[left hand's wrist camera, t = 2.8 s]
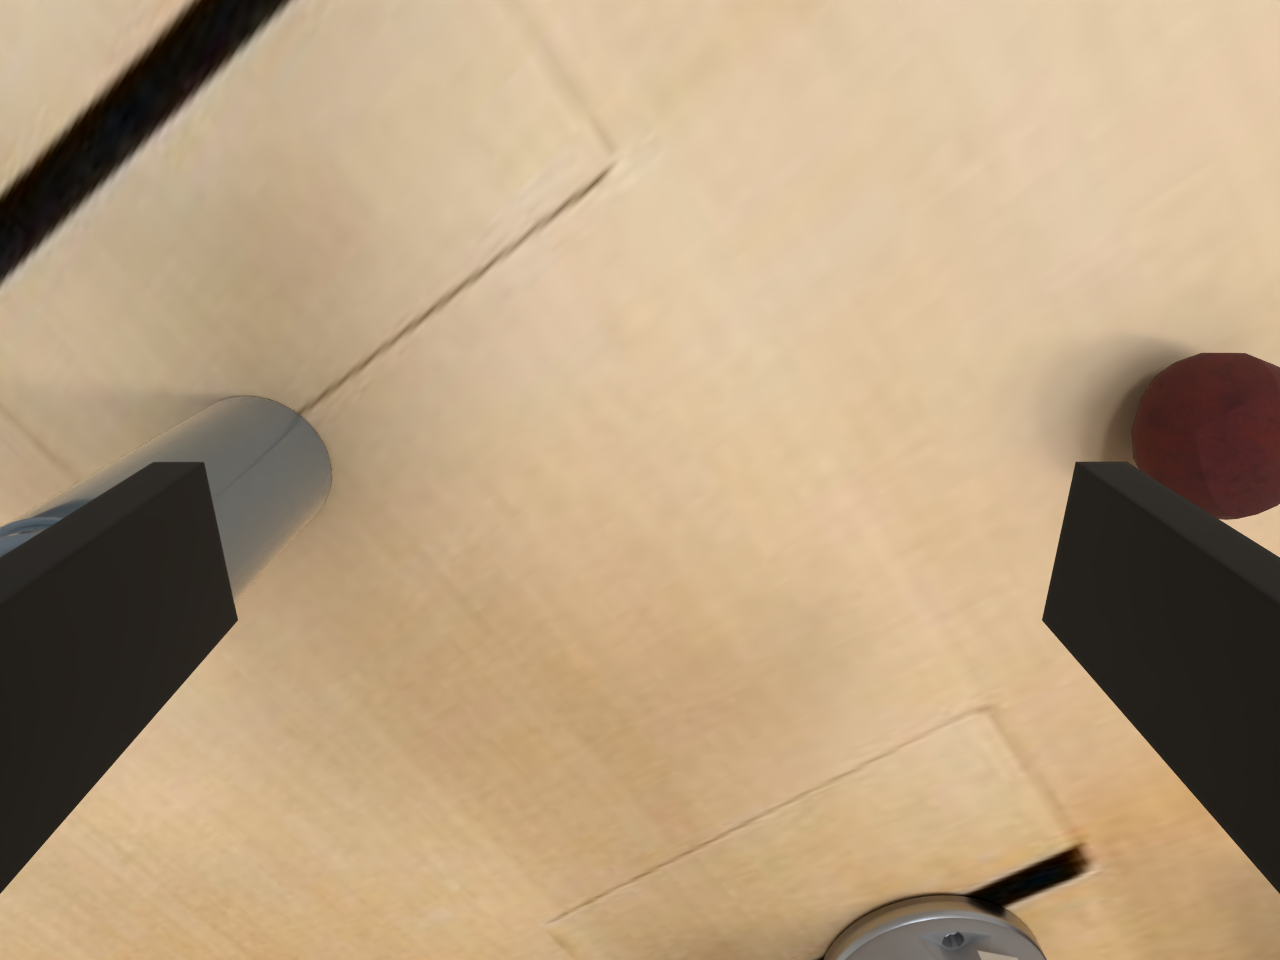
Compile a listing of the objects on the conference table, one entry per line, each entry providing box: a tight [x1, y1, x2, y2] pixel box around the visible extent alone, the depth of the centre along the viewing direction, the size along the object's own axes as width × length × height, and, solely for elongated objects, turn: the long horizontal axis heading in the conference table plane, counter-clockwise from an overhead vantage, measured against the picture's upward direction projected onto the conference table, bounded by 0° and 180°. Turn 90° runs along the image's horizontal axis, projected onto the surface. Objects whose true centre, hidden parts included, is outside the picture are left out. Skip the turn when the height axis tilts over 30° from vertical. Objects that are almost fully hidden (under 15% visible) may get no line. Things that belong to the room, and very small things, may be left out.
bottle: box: [0, 396, 332, 604], centre depth 32 cm, size 8×8×20 cm
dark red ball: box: [1132, 353, 1280, 520], centre depth 37 cm, size 7×8×7 cm
